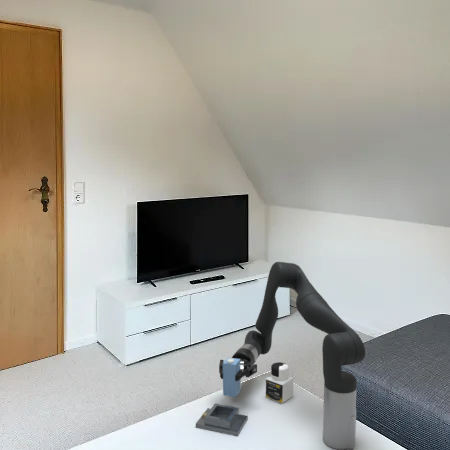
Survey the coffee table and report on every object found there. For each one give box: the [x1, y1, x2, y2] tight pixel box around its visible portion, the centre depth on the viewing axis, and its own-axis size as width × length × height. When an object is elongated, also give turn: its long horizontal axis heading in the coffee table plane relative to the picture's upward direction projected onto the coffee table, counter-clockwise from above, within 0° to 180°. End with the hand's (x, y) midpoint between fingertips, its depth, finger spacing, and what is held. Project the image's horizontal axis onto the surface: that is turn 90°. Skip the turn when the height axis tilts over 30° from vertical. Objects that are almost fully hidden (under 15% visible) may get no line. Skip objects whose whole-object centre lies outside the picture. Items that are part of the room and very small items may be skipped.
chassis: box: [195, 402, 249, 437], centre depth 152 cm, size 14×10×4 cm
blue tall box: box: [222, 357, 242, 398], centre depth 158 cm, size 4×5×12 cm
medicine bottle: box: [265, 361, 294, 404], centre depth 168 cm, size 7×7×12 cm
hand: (229, 377), depth 156 cm, fingers closed on blue tall box, 4 cm apart
